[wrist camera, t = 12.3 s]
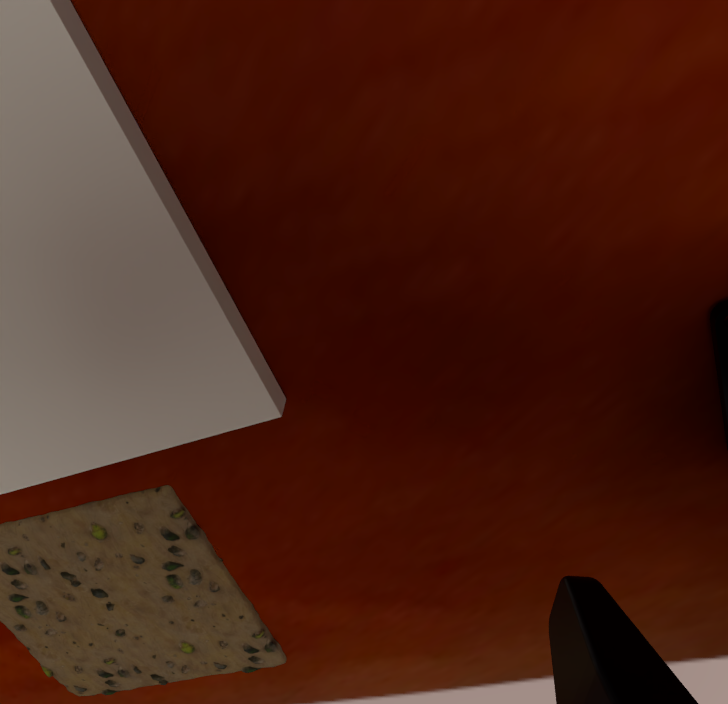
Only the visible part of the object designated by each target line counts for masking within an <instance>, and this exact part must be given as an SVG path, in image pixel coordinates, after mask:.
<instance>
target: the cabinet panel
mask: <svg viewBox="0 0 728 704" xmlns="http://www.w3.org/2000/svg"><path fill="white" fill-rule="evenodd" d="M285 402H286V398H285V396H284V394H283V392H282V390H281V388H280V386H279V385H278V383H277V381H276V379H275V377H274V375H273V374H272V372H271V370H270V368H269V366H268V364H267V362H266V361H265V359H264V357H263V355H262V353H261V351H260V350H259V348H258V346H257V344H256V342H255V340H254V339H253V337H252V335H251V333H250V331H249V329H248V327H247V326H246V324H245V322H244V320H243V318H242V316H241V315H240V313H239V311H238V309H237V307H236V305H235V303H234V302H233V300H232V298H231V296H230V294H229V292H228V291H227V289H226V287H225V285H224V283H223V281H222V280H221V278H220V276H219V274H218V272H217V270H216V268H215V267H214V265H213V263H212V261H211V259H210V257H209V256H208V254H207V252H206V250H205V248H204V246H203V244H202V243H201V241H200V239H199V237H198V235H197V233H196V232H195V230H194V228H193V226H192V224H191V222H190V221H189V219H188V217H187V215H186V213H185V211H184V209H183V208H182V206H181V204H180V202H179V200H178V198H177V197H176V195H175V193H174V191H173V189H172V187H171V185H170V184H169V182H168V180H167V178H166V176H165V174H164V173H163V171H162V169H161V167H160V165H159V163H158V162H157V160H156V158H155V156H154V154H153V152H152V150H151V149H150V147H149V145H148V143H147V141H146V139H145V138H144V136H143V134H142V132H141V130H140V128H139V126H138V125H137V123H136V121H135V119H134V117H133V115H132V114H131V112H130V110H129V108H128V106H127V104H126V103H125V101H124V99H123V97H122V95H121V93H120V91H119V90H118V88H117V86H116V84H115V82H114V80H113V79H112V77H111V75H110V73H109V71H108V69H107V67H106V66H105V64H104V62H103V60H102V58H101V56H100V55H99V53H98V51H97V49H96V47H95V45H94V44H93V42H92V40H91V38H90V36H89V34H88V32H87V31H86V29H85V27H84V25H83V23H82V21H81V20H80V18H79V16H78V14H77V12H76V10H75V8H74V7H73V5H72V3H71V1H70V0H0V494H4V493H8V492H11V491H15V490H19V489H22V488H26V487H29V486H33V485H37V484H40V483H44V482H47V481H51V480H55V479H58V478H62V477H66V476H69V475H73V474H76V473H80V472H84V471H87V470H91V469H95V468H98V467H102V466H105V465H109V464H113V463H116V462H120V461H123V460H127V459H131V458H134V457H138V456H142V455H145V454H149V453H152V452H156V451H160V450H163V449H167V448H171V447H174V446H178V445H181V444H185V443H189V442H192V441H196V440H199V439H203V438H207V437H210V436H214V435H218V434H221V433H225V432H228V431H232V430H236V429H239V428H243V427H247V426H250V425H254V424H257V423H261V422H265V421H268V420H272V419H275V418H279V417H282V414H283V410H284V406H285Z"/></svg>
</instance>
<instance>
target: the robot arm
mask: <svg viewBox="0 0 728 704" xmlns="http://www.w3.org/2000/svg"><path fill="white" fill-rule="evenodd" d="M727 316H728V300H725V301H723V302H721V303H719V304H718V305H716V306H715V307H714V308H713V310H712V312H711V314H710V322H711V330H712V337H713V345H714V353H715V360H716V368H717V375H718V383H719V390H720V398H721V405H722V413H723V420H724V428H725V435H726V443H727V450H728V321H724V319H725V318H726V317H727ZM549 638H550V647H551V656H552V665H553V674H554V684H555V693H556V702H557V704H698V703H697V701H696V700H695V699H694V698H693V697H692V696H691V694H690V693H689V692H688V690H687V689H686V688H685V687H684V685H683V684H682V683H681V682H680V681H679V679H678V678H677V677H676V676H675V674H674V673H673V672H672V671H671V669H670V668H669V667H668V666H667V664H666V663H665V662H664V661H663V660H662V658H661V657H660V656H659V655H658V653H657V652H656V651H655V650H654V648H653V647H652V646H651V645H650V644H649V642H648V641H647V640H646V639H645V637H644V636H643V635H642V634H641V632H640V631H639V630H638V629H637V628H636V626H635V625H634V624H633V623H632V621H631V620H630V619H629V618H628V616H627V615H626V614H625V613H624V612H623V610H622V609H621V608H620V607H619V605H618V604H617V603H616V602H615V600H614V599H613V598H612V597H611V595H610V594H609V593H608V592H607V591H606V589H605V588H604V587H603V586H602V584H601V583H600V582H599V581H597V580H596V579H594V578H591V577H579V576H565V577H563V578H562V579H561V581H560V584H559V587H558V590H557V593H556V597H555V600H554V604H553V607H552V610H551V614H550V619H549Z"/></svg>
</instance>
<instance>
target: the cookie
mask: <svg viewBox="0 0 728 704" xmlns="http://www.w3.org/2000/svg"><path fill="white" fill-rule="evenodd" d="M222 561H223V560H222V559H221V558H219V557H218V556H217V555H216V553H215V551H214V549H213V547H212V545H211V544H210V542H209V541H208V540H207V537H206V534H205V533H204V531H203V530H202V529H201V528H200V527H199V526H197V524H196V522H195V520H194V519H193V518H192V516H191V515H190V513H189V511H188V510H187V509H186V508H185V507H184V505H183V504H182V502H181V501H180V500H179V498H178V497H177V495H176V493H175V491H174V490H173V488H172V487H171V486H169V485H165V486H162V487H158V488H154V489H148V490H144V491H139V492H133V493H129V494H126V495H120V496H116V497H114V498H109V499H106V500H102V501H95V502H89V503H86V504H82V505H79V506H77V507H73V508H69V509H64V510H60V511H55V512H50V513H48V514H45V515H40V516H34V517H30V518H26V519H22V520H18V521H14V522H6V523H3V524H0V621H1V622H2V623H3V624H5V625H6V627H7V628H8V629H9V630H11V631H12V632H13V633H14V635H15V636H16V637H17V639H18V640H19V641H20V642H22V643H23V644H24V645H25V646H26V647H27V649H28V650H29V652H30V654H31V655H32V656H33V657H35V658H36V659H37V660H38V661H39V662H40V665H41V667H42V669H43V671H44V672H45V674H46V675H47V676H48V677H51V676H54V678H55V679H56V680H58V681H59V682H60V683H61V684H63V685H65V686H66V688H67V689H68V691H69V692H72V693H74V694H75V695H78V696H89V695H95V694H98V693H102V694H104V695H110V694H113V693H115V692H118V691H120V690H132V689H135V688H137V687H143V686H152V685H157V684H161V685H166V684H167V683H168V682H175V681H180V680H188V679H193V678H197V677H202V676H208V675H215V674H225V673H233V672H237V671H243V672H245V673H249V672H253V671H255V670H258V669H260V668H263V667H275V666H277V665H281V664H283V663H285V662H286V660H287V659H286V656H285V654H284V652H283V651H282V649H281V646H280V644H279V643H278V642H277V641H276V640H275V639H274V638H273V636H272V635H271V633H270V632H269V630H268V628H267V627H266V626H265V625H264V623H263V622H262V621H261V619H260V617H259V615H258V613H257V611H256V610H255V609H254V606H253V604H252V603H251V602H250V601H249V600H248V599H247V597H246V596H245V595H244V594H243V592H242V591H241V589H240V588H239V586H238V585H237V583H236V582H235V580H234V578H233V577H232V576H231V575H230V573H229V572H228V570H227V569H226V567H225V566H224V564H223V562H222Z"/></svg>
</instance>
